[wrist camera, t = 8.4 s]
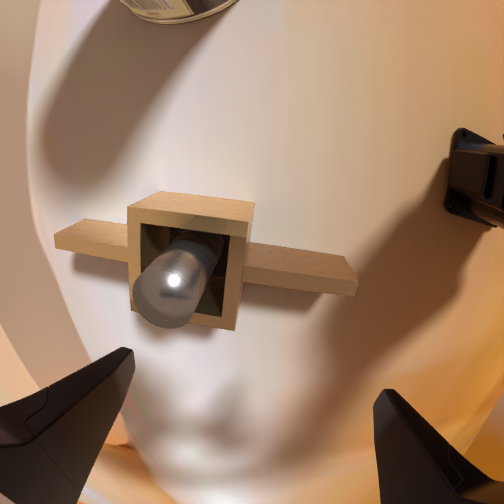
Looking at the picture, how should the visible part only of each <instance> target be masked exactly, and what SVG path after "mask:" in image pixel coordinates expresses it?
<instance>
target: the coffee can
mask: <svg viewBox="0 0 504 504" xmlns="http://www.w3.org/2000/svg"><path fill="white" fill-rule="evenodd" d="M119 1H120V2H121V3H123V4H124V5H125V6H126V7H128V8H129V9H130V10H131V12H132V13H133V14H135V15H136V16H137V17H139V18H141V19H143V20H144V21H149V22H153V23H160V24H177V23H185V22H189V21H195V20H198V19H201V18H204V17H207V16H210V15H212V14H214V13H217V12H219V11H221V10H223V9H225V8H226V7H228V6H230V5H231V4H233V3H234V2H236V1H237V0H119Z"/></svg>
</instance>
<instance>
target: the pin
mask: <svg viewBox="0 0 504 504" xmlns="http://www.w3.org/2000/svg"><path fill="white" fill-rule="evenodd" d="M223 245H224V243H223V237H222V235H221V234H218V233H211V232H204V231H196V230H189V229H185V230H184V231H183V232H182V233H181V234H180V235H179V236H178V237H177V238H176V239H175V240H174V241H173V242H172V243H171V244H170V245H169V246H168V247H167V248H166V249H165V250H164V251H163V252H162V253H161V254H160V255H159V256H158V257H157V258H156V259H155V260H154V261H153V262H152V263H151V264H150V265H149V266H148V267H147V268H146V269H145V270H144V271H143V272H142V273H141V275H140V276H139V277H138V278H137V279H136V280H135V282H134V285H133V289H132V296H133V301H134V304H135V306H136V308H137V310H138V311H139V312H140V314H141V315H142V316H143V317H144V318H145V319H146V320H148V321H149V322H151V323H152V324H154V325H156V326H159V327H162V328H178V327H181V326H183V325H185V324H186V323H187V322H188V321H189V320H190V319H191V318H192V316H193V313H194V311H195V309H196V307H197V305H198V302H199V300H200V298H201V296H202V294H203V291H204V289H205V287H206V285H207V283H208V281H209V278H210V276H211V274H212V272H213V270H214V268H215V265H216V263H217V261H218V259H219V257H220V255H221V253H222V250H223Z"/></svg>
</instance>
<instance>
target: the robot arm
mask: <svg viewBox="0 0 504 504" xmlns="http://www.w3.org/2000/svg"><path fill="white" fill-rule="evenodd" d="M462 132H463V137H462ZM503 138H504V134H503ZM450 204H452V205H451V208H449V205H450ZM444 209H445V211H447V212H449V213H451V214H455V215H458V216H461V217H464V218H467V219H471V220H474V221H477V222H480V223H483V224H486V225H489V226H492V227H495V228H496V227H500V228H502V229H504V146H502V145H496V144H494V143H492V142H490V141H489V140H487V139H485V138H483V137H481V136H479V135H477V134H475V133H473V132H471V131H469V130H467V129H465V128H458V129H457V131H456V139H455V147H454V151H453V157H452V164H451V170H450V175H449V181H448V188H447V193H446V198H445V202H444ZM134 372H135V359H134V352H133V350H132V349H129V348H126V347H120V348H118V349H117V350H115V351H113V352H111V353H109V354H108V355H106V356H104V357H102V358H100V359H98V360H96V361H95V362H93V363H91V364H89V365H87V366H85V367H84V368H82V369H80V370H78V371H77V372H74V373H73V374H70V375H69V376H67V377H65V378H63V379H61V380H59V381H57V382H55V383H54V384H52V385H50V386H49V388H48V387H46V388H44V389H42V390H40V391H38V392H36V393H34V394H32V395H30V396H27V397H25V398H22V399H20V400H17V401H15V402H12V403H9V404H7V405H4V406H1V407H0V504H77V501H78V499H79V497H80V494H81V491H82V490H83V487H84V485H85V483H86V481H87V478H88V476H89V474H90V472H91V469H92V467H93V465H94V463H95V461H96V459H97V457H98V454H99V452H100V450H101V448H102V446H103V444H104V442H105V440H106V438H107V435H108V433H109V431H110V429H111V427H112V425H113V423H114V421H115V419H116V417H117V415H118V413H119V411H120V409H121V407H122V405H123V402H124V400H125V397H126V394H127V391H128V388H129V386H130V383H131V380H132V377H133V375H134ZM373 418H374V443H375V452H376V460H377V468H378V478H379V488H380V500H381V504H504V482H501V481H495V480H493V479H491V478H489V477H488V476H487V475H485V474H484V473H483V472H482V471H480V470H479V469H478V468H477V467H475V466H474V465H472V464H471V463H470V462H469V461H468V460H467V459H466V458H464V457H463V456H462V455H461V454H460V453H459V452H458V451H457V450H456V449H455V448H454V447H453V446H452V445H449V443H448V442H447V441H446V440H445V439H444V438H443V437H442V436H441V435H440V434H439V433H438V432H437V431H436V430H435V429H434V428H433V427H432V426H431V425H430V424H429V423H428V422H427V421H426V420H425V419H424V418H423V417H422V416H421V415H420V414H419V413H418V412H417V411H416V410H415V409H414V408H413V407H412V406H411V405H410V404H409V403H408V402H407V401H406V400H405V399H404V398H403V397H402V396H401V395H400V394H398V393H397V392H396V391H395V390H394V389H384V390H382V392H381V393H380V395H379V396H378V398H377V399H376V401H375V403H374V406H373Z"/></svg>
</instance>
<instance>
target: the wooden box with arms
mask: <svg viewBox="0 0 504 504" xmlns="http://www.w3.org/2000/svg"><path fill="white" fill-rule="evenodd" d="M254 205H255V203H253V202H246V201H239V200H232V199H224V198H216V197H208V196H200V195H191V194H182V193H173V192H164V191H160V192H158V193H156V194H154V195H151V196H149V197H147V198H145V199H142V200H140V201H138V202H136V203H134V204H131V205H129V206H127V225H126V224H119V223H111V222H104V221H96V220H89V219H84V220H82V221H80V222H78V223H76V224H74V225H71V226H69V227H67V228H65V229H63V230H61V231H59V232H57V233H56V234H54V240H55V248H57V249H62V250H67V251H71V252H76V253H81V254H86V255H91V256H96V257H101V258H107V259H112V260H117V261H122V262H128V274H129V290H130V303H131V311H135V312H139V311H138V310H137V308H136V306H135V304H134V301H133V296H132V289H133V285H134V282H135V280H136V279H137V278H138V277H139V276H140V275H141V273H142V272H143V271H144V270H145V269H146V268H147V267H148V266H149V265H150V264H151V263H152V262H153V261H154V260H155V259H156V258H157V257H158V256H159V255H160V254H161V253H162V252H163V251H164V250H165V249H166V248H167V247H168V246H169V236H170V227H175V228H182V229H189V230H196V231H204V232H211V233H218V234H225V235H230V243H229V252H228V261H227V271H226V278H224V277H218V276H212V275H211V276H210V278H209V281H208V283H207V285H206V287H205V289H204V291H203V294H202V296H201V298H200V300H199V302H198V305H197V307H196V309H195V311H194V313H193V316H192V318H191V319H190V320H189V321H188V322H187V323H192V324H197V325H203V326H208V327H214V328H220V329H226V330H232V331H235V326H236V321H237V316H238V311H239V306H240V302H241V297H242V292H243V285H244V282H247V283H254V284H261V285H268V286H275V287H282V288H289V289H296V290H303V291H311V292H319V293H326V294H334V295H342V296H351V297H355V293H356V290H357V287H358V284H359V281H358V279H357V277H356V276H355V274H354V272H353V271H352V269H351V267H350V266H349V264H348V262H347V261H346V259H345V257H344V256H338V255H332V254H326V253H319V252H313V251H306V250H299V249H293V248H286V247H280V246H273V245H266V244H259V243H253V242H249V241H250V234H251V227H252V219H253V212H254ZM139 313H140V312H139Z"/></svg>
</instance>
